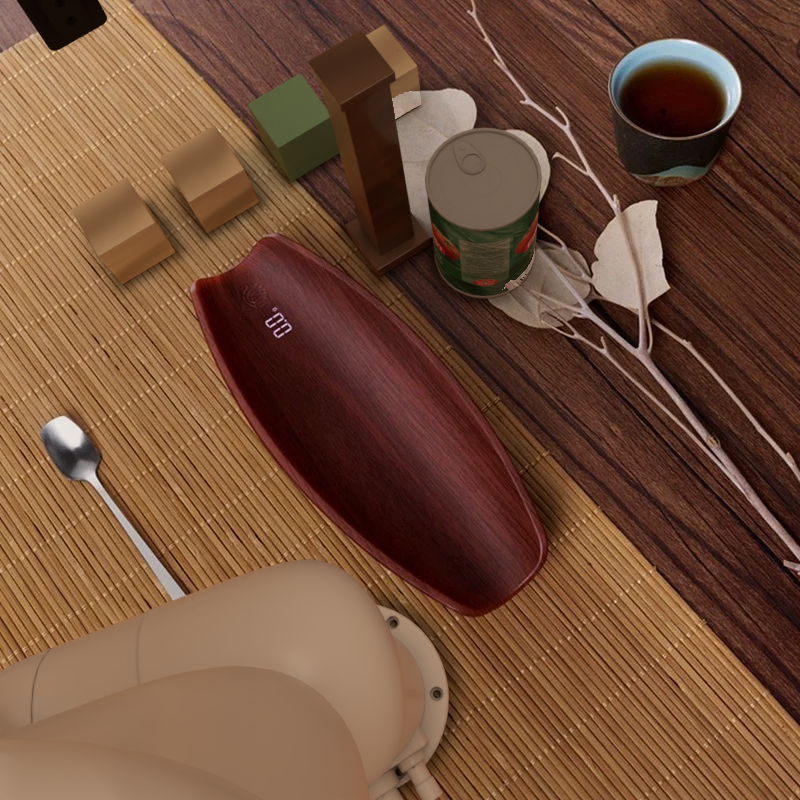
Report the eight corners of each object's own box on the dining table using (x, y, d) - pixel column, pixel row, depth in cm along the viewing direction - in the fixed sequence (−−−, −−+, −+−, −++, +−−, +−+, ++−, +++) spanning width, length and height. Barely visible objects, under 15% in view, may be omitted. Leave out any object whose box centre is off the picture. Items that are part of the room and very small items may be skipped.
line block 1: (175, 252, 75) (154, 222, 71) (122, 284, 75) (97, 256, 70) (148, 208, 77) (126, 176, 72) (96, 239, 76) (70, 209, 72)
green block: (342, 152, 77) (332, 115, 72) (291, 182, 76) (277, 148, 72) (311, 110, 78) (300, 72, 74) (261, 140, 78) (246, 104, 73)
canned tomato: (554, 269, 72) (564, 194, 61) (465, 316, 71) (461, 249, 61) (502, 192, 74) (504, 108, 64) (416, 237, 74) (404, 160, 63)
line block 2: (259, 202, 76) (244, 169, 71) (207, 233, 76) (188, 202, 71) (230, 159, 78) (213, 124, 73) (179, 190, 77) (159, 156, 72)
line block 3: (422, 104, 78) (417, 65, 73) (372, 135, 77) (364, 97, 72) (390, 65, 79) (384, 24, 74) (341, 94, 79) (331, 55, 74)
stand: (431, 245, 73) (409, 73, 54) (379, 277, 73) (336, 117, 53) (398, 199, 75) (364, 17, 55) (346, 231, 74) (293, 59, 55)
